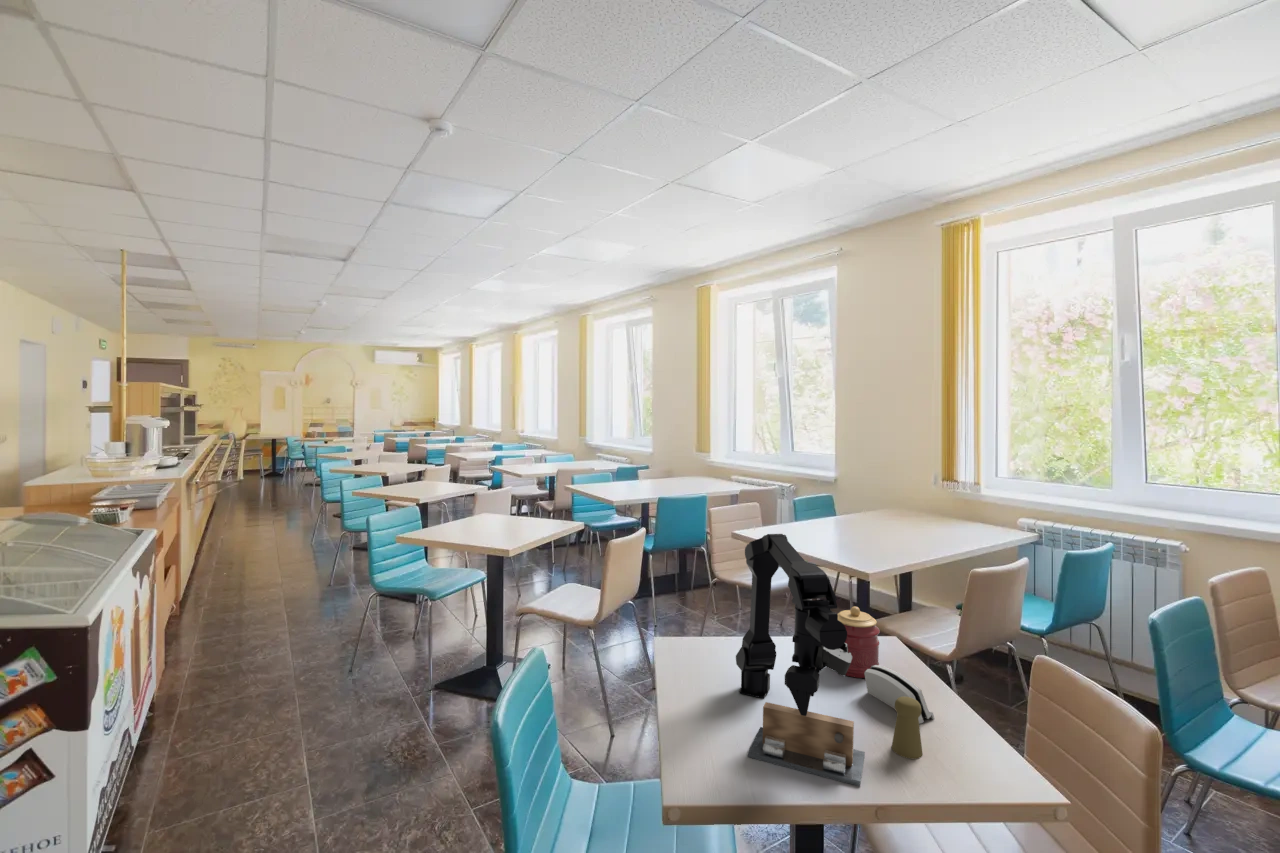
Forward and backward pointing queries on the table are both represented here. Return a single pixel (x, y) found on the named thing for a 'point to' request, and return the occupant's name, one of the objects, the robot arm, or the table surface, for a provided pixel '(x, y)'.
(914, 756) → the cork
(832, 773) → the plate
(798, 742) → the cabinet door
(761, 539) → the robot arm
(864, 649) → the canister
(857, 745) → the table surface
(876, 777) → the table surface
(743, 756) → the table surface
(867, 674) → the white curved block
